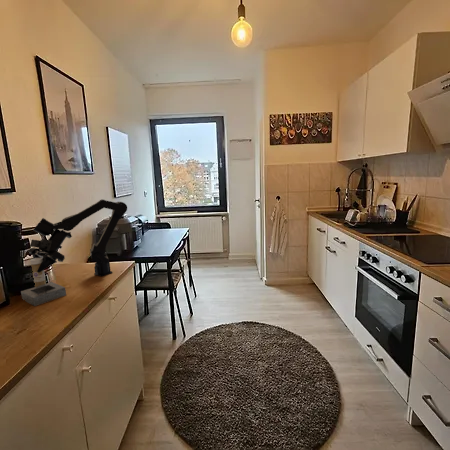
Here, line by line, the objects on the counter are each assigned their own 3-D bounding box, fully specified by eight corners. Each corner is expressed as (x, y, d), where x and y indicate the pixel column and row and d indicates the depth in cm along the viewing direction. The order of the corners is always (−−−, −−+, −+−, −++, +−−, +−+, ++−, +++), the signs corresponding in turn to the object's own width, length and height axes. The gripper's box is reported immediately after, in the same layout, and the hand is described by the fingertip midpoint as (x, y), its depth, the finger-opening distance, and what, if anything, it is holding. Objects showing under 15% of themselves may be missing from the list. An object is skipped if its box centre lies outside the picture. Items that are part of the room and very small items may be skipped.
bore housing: (53, 289, 127) (51, 282, 127) (66, 295, 120) (65, 287, 120) (22, 299, 118) (20, 291, 117) (34, 306, 111) (33, 297, 110)
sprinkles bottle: (33, 290, 125) (28, 260, 122) (36, 286, 129) (32, 258, 127) (45, 288, 126) (40, 259, 124) (48, 285, 130) (43, 256, 128)
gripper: (28, 230, 131) (6, 260, 123) (54, 233, 123) (31, 265, 115) (48, 243, 139) (28, 272, 131) (73, 246, 131) (53, 277, 123)
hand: (34, 271), depth 125 cm, fingers open, 4 cm apart
